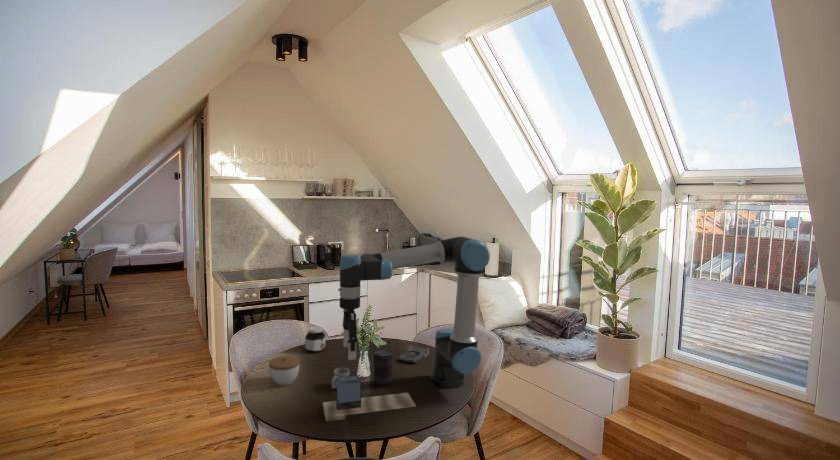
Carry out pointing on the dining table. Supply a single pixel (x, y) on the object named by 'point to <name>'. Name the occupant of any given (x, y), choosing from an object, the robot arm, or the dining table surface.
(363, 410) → the board
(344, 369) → the mug
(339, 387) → the block
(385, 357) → the camera lens
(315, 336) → the spread jar
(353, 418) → the dining table surface
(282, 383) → the lidded bowl
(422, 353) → the graphics card
